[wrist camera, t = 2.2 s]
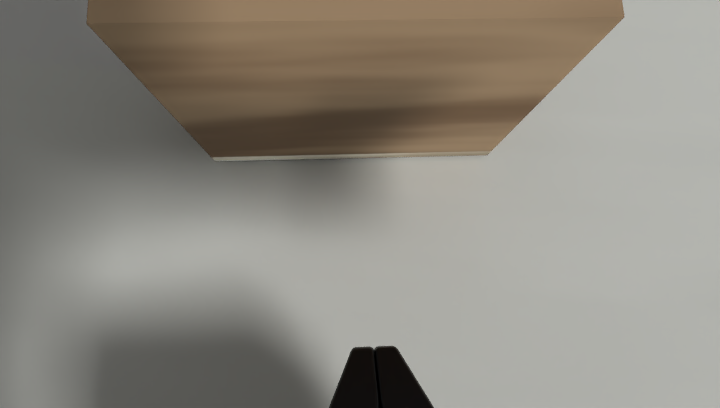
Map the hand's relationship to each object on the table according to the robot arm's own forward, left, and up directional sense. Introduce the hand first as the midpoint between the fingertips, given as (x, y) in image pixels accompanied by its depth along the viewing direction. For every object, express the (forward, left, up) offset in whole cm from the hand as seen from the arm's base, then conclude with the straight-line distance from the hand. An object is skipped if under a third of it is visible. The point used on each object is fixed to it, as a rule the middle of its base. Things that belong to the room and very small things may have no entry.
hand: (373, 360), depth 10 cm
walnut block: (+8, +4, -11) cm, 15 cm away
